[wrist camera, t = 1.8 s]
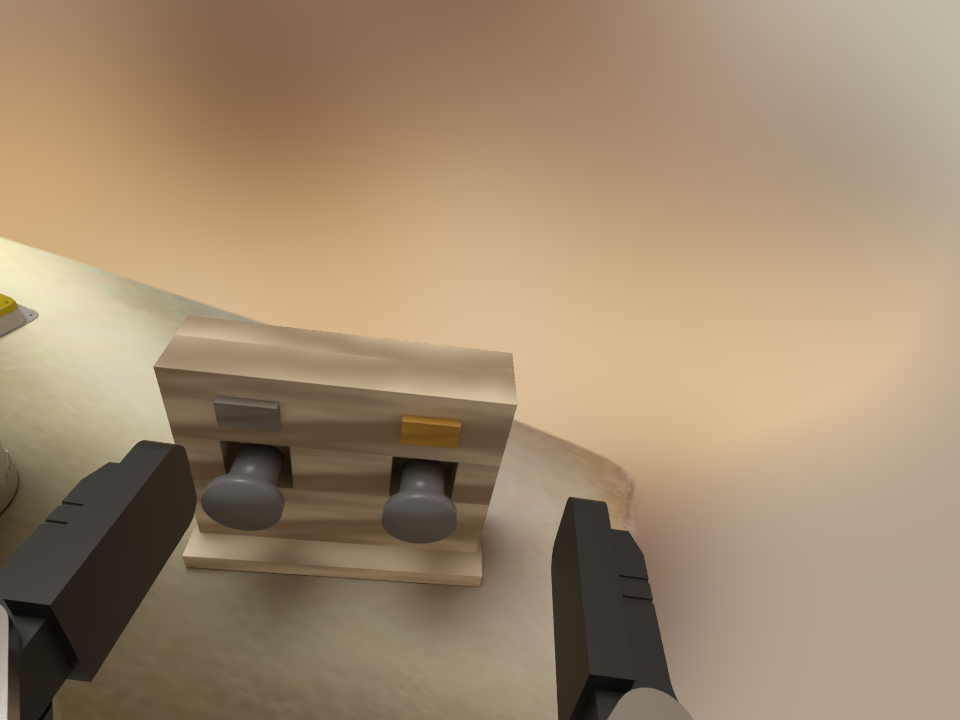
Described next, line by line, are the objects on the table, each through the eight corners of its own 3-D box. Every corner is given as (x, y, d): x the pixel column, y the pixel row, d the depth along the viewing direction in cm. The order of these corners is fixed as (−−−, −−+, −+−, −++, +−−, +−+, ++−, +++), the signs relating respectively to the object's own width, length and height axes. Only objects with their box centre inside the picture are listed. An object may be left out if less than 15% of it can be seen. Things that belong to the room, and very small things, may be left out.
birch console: (479, 586, 43) (527, 429, 32) (185, 566, 41) (127, 389, 30) (477, 501, 50) (518, 344, 38) (222, 480, 47) (185, 305, 36)
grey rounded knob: (451, 546, 37) (461, 503, 34) (379, 540, 37) (383, 496, 34) (453, 494, 41) (462, 451, 38) (387, 489, 40) (391, 444, 37)
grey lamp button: (283, 533, 36) (278, 487, 33) (207, 527, 36) (194, 480, 33) (299, 481, 39) (295, 435, 36) (229, 475, 39) (219, 428, 36)
